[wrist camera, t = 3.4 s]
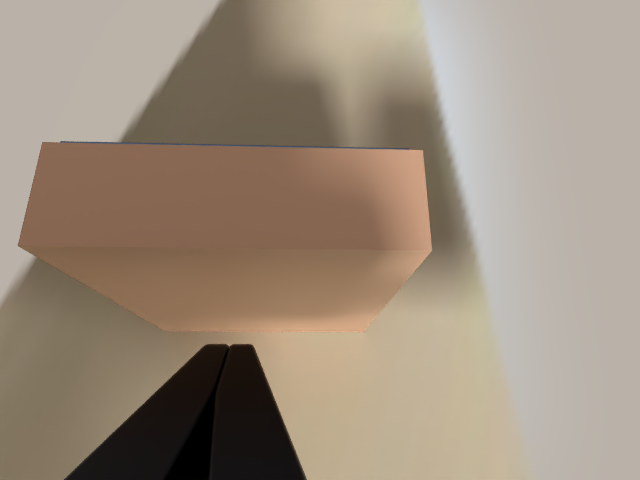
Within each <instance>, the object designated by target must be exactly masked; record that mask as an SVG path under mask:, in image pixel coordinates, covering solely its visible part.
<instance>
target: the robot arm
mask: <svg viewBox="0 0 640 480" xmlns="http://www.w3.org/2000/svg"><path fill="white" fill-rule="evenodd" d="M64 480H307V479H306V476H305V474H304V471H303V469H302V466H301V464H300V461H299V459H298V456H297V454H296V451H295V449H294V446H293V444H292V441H291V439H290V436H289V434H288V431H287V429H286V426H285V424H284V421H283V419H282V416H281V413H280V411H279V408H278V406H277V403H276V401H275V398H274V396H273V393H272V391H271V388H270V386H269V383H268V381H267V378H266V376H265V373H264V371H263V368H262V366H261V363H260V361H259V358H258V356H257V353H256V351H255V348H254V347H253V345H251V344H233V345H231V346H230V347H229V346H228V345H226V344H207V345H205V346H204V347H202V348H201V349H200V350H199V351H198V352H197V353H196V354H195V355H194V356H193V357H192V358H191V359H190V360H189V361H188V362H187V363H186V364H185V365H184V366H183V367H181V368H180V369H179V370H178V371H177V372H176V373H175V374H174V375H173V376H172V377H171V378H170V379H169V380H168V381H167V382H166V383H165V384H164V385H163V386H162V387H161V388H159V389H158V390H157V391H156V392H155V393H154V394H153V395H152V396H151V397H150V398H149V399H148V400H147V401H146V402H145V403H144V404H143V405H142V406H141V407H140V408H138V409H137V410H136V411H135V412H134V413H133V414H132V415H131V416H130V417H129V418H128V419H127V420H126V421H125V422H124V423H123V424H122V425H121V426H120V427H119V428H117V429H116V430H115V431H114V432H113V433H112V434H111V435H110V436H109V437H108V438H107V439H106V440H105V441H104V442H103V443H102V444H101V445H100V446H99V447H98V448H97V449H95V450H94V451H93V452H92V453H91V454H90V455H89V456H88V457H87V458H86V459H85V460H84V461H83V462H82V463H81V464H80V465H79V466H78V467H77V468H76V469H74V470H73V471H72V472H71V473H70V474H69V475H68V476H67V477H66V478H65V479H64Z"/></svg>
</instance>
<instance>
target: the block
mask: <svg viewBox="0 0 640 480" xmlns="http://www.w3.org/2000/svg"><path fill="white" fill-rule="evenodd" d="M18 246H19V247H21V248H22V249H24V250H26V251H28V252H29V253H31V254H33V255H34V256H36V257H38V258H40V259H41V260H43V261H45V262H47V263H48V264H50V265H52V266H53V267H55V268H57V269H59V270H60V271H62V272H64V273H65V274H67V275H69V276H71V277H72V278H74V279H76V280H78V281H79V282H81V283H83V284H84V285H86V286H88V287H90V288H91V289H93V290H95V291H96V292H98V293H100V294H102V295H103V296H105V297H107V298H109V299H110V300H112V301H114V302H115V303H117V304H119V305H121V306H122V307H124V308H126V309H128V310H129V311H131V312H133V313H134V314H136V315H138V316H140V317H141V318H143V319H145V320H146V321H148V322H150V323H152V324H153V325H155V326H157V327H159V328H160V329H162V330H164V331H243V332H364V331H365V329H366V328H367V327H368V326H369V325H370V324H371V322H372V321H373V320H374V319H375V318H376V316H377V315H378V314H379V313H380V312H381V311H382V309H383V308H384V307H385V306H386V305H387V303H388V302H389V301H390V300H391V299H392V298H393V296H394V295H395V294H396V293H397V292H398V290H399V289H400V288H401V287H402V286H403V284H404V283H405V282H406V281H407V280H408V279H409V277H410V276H411V275H412V274H413V273H414V271H415V270H416V269H417V268H418V267H419V266H420V264H421V263H422V262H423V261H424V260H425V258H426V257H427V256H428V255H429V254H430V252H431V251H432V244H431V233H430V222H429V211H428V200H427V189H426V179H425V168H424V157H423V150H409V149H404V148H355V147H307V146H259V145H211V144H163V143H114V142H65V141H61V142H60V143H52V142H51V143H50V142H43V143H42V146H41V150H40V155H39V159H38V164H37V167H36V172H35V176H34V180H33V184H32V188H31V193H30V197H29V201H28V206H27V209H26V214H25V218H24V222H23V226H22V231H21V235H20V239H19V243H18Z"/></svg>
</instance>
